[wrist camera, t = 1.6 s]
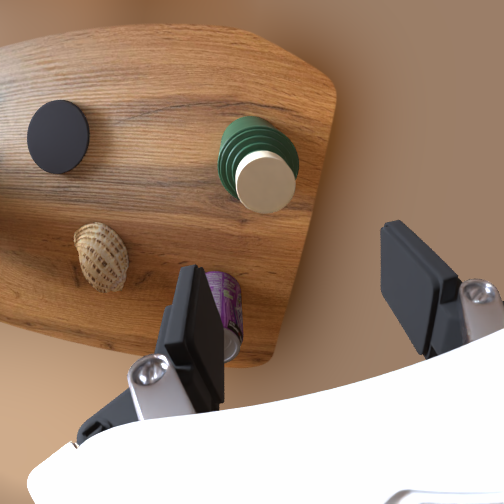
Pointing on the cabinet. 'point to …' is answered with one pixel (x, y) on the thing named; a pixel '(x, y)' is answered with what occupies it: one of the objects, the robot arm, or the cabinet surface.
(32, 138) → the coaster
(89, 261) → the seashell
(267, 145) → the bottle
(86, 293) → the cabinet surface
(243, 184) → the cap
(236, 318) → the beverage can
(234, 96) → the cabinet surface
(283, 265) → the cabinet surface
